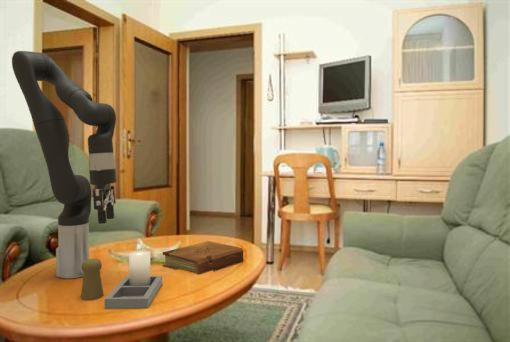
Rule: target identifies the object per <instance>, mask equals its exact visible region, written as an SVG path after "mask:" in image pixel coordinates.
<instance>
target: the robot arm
mask: <svg viewBox="0 0 510 342" xmlns="http://www.w3.org/2000/svg"><path fill="white" fill-rule="evenodd" d="M11 66H12V70H13V74H14V76H15V79H16V81H17V84H18V86H19V88H20V90H21V93H22V94H23V96H24V99H25V102H26V105H27V107H28V110H29V113H30V116H31V120H32V123H33V127H34V130H35V132H36V137H37V139H38V142H39V144H40V147H41V148H40V149H41V151H42V153H43V154H42V155H43V157H44V160H45V164H46V167H47V172H48V177H49V181H50V182H49V183H50V186H51V191H52V195H53V196H54V198H55V200H56V201H58V202H59V203H60V204H62V205H63V209H62V211H61V212H60V214H59V215H58V217H57V227H58V228H57V232H58V233H57V234H58V235H57V236H58V246H57V247H56V249H55V263H56V264H55V267H56V268H55V273H56V275H55V276H56V278H61V279H78V278H83V275H84V272H83V271H82V263H83V261H85V260H88V259H90V228H89V226H90V225H89V224H90V222H89V219H90V215H91V212H92V198H93V210H94V211H95V210H96V211H97V223H98V224H99V225H102V224H106V223H107V220H114V219H115V209H114V207H115V204H116V203H117V202H116V201H117V200H116V194H115V192H116V191H115V186H114V185H111V184H116V183H117V173H116V172H117V170H116V160H115V154H114V146H113V145H114V144H113V138H114V133H115V128H116V121H117V115H116V111H115V109H114V108H113V106H112V105H110V104H108V103H102V102H95V101H94V100H93V97H92V95H91V94H90V93H89V92H88V91H86V90H85V89H84V88H82V87H81V86H80V85H78V84H77V83H76V82H74V80H72V79H71V78H70V77H69V76H68V75H67V74H66V73H65V72H64V70H62V68H60V66H59V65H58V64H57V63H56V62H55V61H54V60H53V58H52V57H50V56H49V55H48V54H46V53H44V52H40V51H39V52H38V51H30V50H29V51H28V50H17V51H15V52H13V54H12V57H11ZM39 82H46V83H49V84H51V85H52V86H54V88H55V92H56V93H55V94H56V95H57V97H58V99H59V100H60V101H61V102H63V104H65V105H67V106H68V107H69V108H70V109H71V110H72V111H73V112H74V113H75V115H76V116H77V118H78V119H79V121H81V122H82V123H83V124H85V125H87V126H89V127H90V126H92V127H97V129H96V133H94V134H90V135H89V136H88V138H87V149H88V170H89V171H88V172H89V180H88V178H87V177H86V176H84V175H80V174H75V173H74V170H73V169H72V166H71V162H70V159H69V158H70V157H69V151H70V150H69V149H70V133H69V129H68V126H67V123H66V119H65V117H64V115H63V113H62V112H61V111H60V109H59V108H58V107H57V106H56V105H55V104H54V103H53V102H52V101H51V100H50V99H49V98H48V97H47V96H46V95H45V93H44V92H43V91H42V89H41V87H40V84H39ZM91 185H93V186H95V185H96V188H93V189H92V187H91Z"/></svg>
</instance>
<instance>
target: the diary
mask: <svg viewBox="0 0 510 342" xmlns="http://www.w3.org/2000/svg"><path fill="white" fill-rule="evenodd" d="M162 255H163V256H164V258H165V259H164V260H165V261H164V264H162V267H164V268H167V267H168V268H167V269H172V270H175V271H176V270H178V271H181V270H185V271H189V272H192V273H196V275H201V274H204V273H207V272H211V271H213V272H215V271H218V270H221V269H224V268H227V267H229V266H232V265H233V266H234V265H235V264H239V263H242V262H244V249H243V248H242V247H239V246H234V245H229V244H225V243H219V242H216V241H215V242H214V241H210V240H208V241H203V242H199V243H195V244H191V245H187V246H183V247H178V248H175V249H170V250H166V251H162Z"/></svg>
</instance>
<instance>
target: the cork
mask: <svg viewBox="0 0 510 342" xmlns="http://www.w3.org/2000/svg"><path fill="white" fill-rule="evenodd" d="M102 265H103V264H102V260H101V259H98V258H89V259H88V260H85V261H83V263H82V271H83V272H84V275H83V277H82V285H81V291H80V292H81V294H80V299H81V300H83V301H95V300H98V299H101V298H103V297H104V289H103V284H102V277H101V269H102V267H103V266H102Z"/></svg>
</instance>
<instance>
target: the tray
mask: <svg viewBox="0 0 510 342" xmlns="http://www.w3.org/2000/svg"><path fill="white" fill-rule="evenodd" d="M162 285H163V275H151V286H129V275H126V276H125V277H123V279H122V280H121V281H120V282H119V283H118V284H117V285H116V286H115V287H114V288H113V289H112V291H110V293H108V295H107V296H106V297H105V298H104V310H110V309H112V310H113V309H115V310H116V309H117V310H118V309H119V310H120V309H122V310H123V309H124V310H125V309H149V307H150V305H151V304H152V302H153V301H154V299H155V297H156V295H157V294H158V292H159V290H160V289H161V287H162Z"/></svg>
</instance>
